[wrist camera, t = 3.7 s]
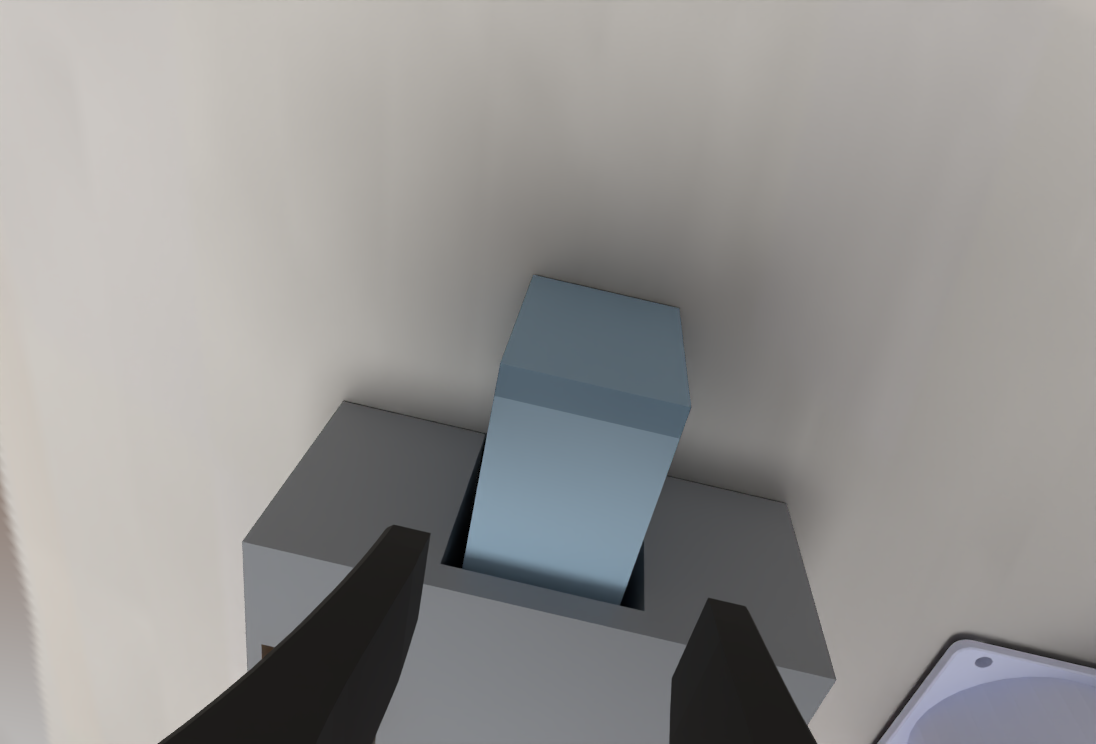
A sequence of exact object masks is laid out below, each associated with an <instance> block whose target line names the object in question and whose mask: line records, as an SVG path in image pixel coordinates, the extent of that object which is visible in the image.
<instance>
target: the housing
mask: <svg viewBox="0 0 1096 744" xmlns="http://www.w3.org/2000/svg"><path fill="white" fill-rule="evenodd" d="M484 439H485V434H483V433H478V432H474V431H470V430H465V429H461V428H457V427H452V426H448V425H444V424H439V423H435V422H431V421H426V420H422V419H418V418H413V417H409V416H405V415H400V414H396V413H392V412H388V411H383V410H379V409H375V408H370V407H366V406H362V405H357V404H353V403H349V402H344V401H343V402H342V404H341V405H340V406H339V408H338V409H337V411H336V412H335V413H334V415H333V416H332V418H331V419H330V420H329V422H328V423H327V424H326V426H325V427H324V429H323V430H322V431H321V433H320V434H319V436H318V437H317V438H316V440H315V441H314V443H313V444H312V445H311V447H310V448H309V449H308V451H307V452H306V454H305V455H304V456H303V458H302V459H301V461H300V462H299V463H298V465H297V466H296V468H295V469H294V470H293V472H292V473H291V475H290V476H289V477H288V479H287V480H286V481H285V483H284V484H283V486H282V487H281V488H280V490H279V491H278V493H277V494H276V495H275V497H274V498H273V500H272V501H271V502H270V504H269V505H268V507H267V508H266V509H265V511H264V512H263V513H262V515H261V516H260V518H259V519H258V520H257V522H256V523H255V525H254V526H253V527H252V529H251V530H250V532H249V533H248V534H247V536H246V537H245V539H244V540H243V541H242V548H243V573H244V598H245V622H246V647H247V672H248V671H249V670H250V669H251V668H253V667H254V666H255V665H256V664H257V663H258V662H259V661H260V660H261V659H262V658H264V657H265V656H266V655H267V654H268V653H269V652H270V651H271V650H272V649H273V648H274V647H276V646H277V645H278V644H279V643H280V642H281V641H282V640H283V639H284V638H285V637H286V636H288V635H289V634H290V633H291V632H292V631H293V630H294V629H295V628H296V627H297V626H298V625H299V624H300V623H301V622H302V621H303V620H304V619H305V618H306V617H307V616H308V615H309V614H310V613H311V612H312V611H313V610H314V609H315V608H316V607H317V606H318V605H319V604H320V603H321V602H322V601H323V600H324V599H325V598H326V597H327V596H328V595H329V594H330V593H331V592H332V591H333V590H334V589H335V588H336V587H337V586H338V584H339V583H340V582H341V581H342V580H343V579H344V578H345V577H346V576H347V575H348V573H349V572H350V571H351V570H352V569H353V568H354V567H355V566H356V565H357V563H358V562H359V561H360V560H361V559H362V558H363V557H364V555H365V554H366V553H367V552H368V551H369V549H370V548H371V547H372V546H373V544H374V543H375V542H376V541H377V540H378V538H379V537H380V536H381V534H382V533H383V532H384V530H385V529H386V528H387V527H390V526H392V525H398V526H402V527H407V528H411V529H415V530H420V531H424V532H428V533H431V535H430V542H429V548H428V555H427V562H426V569H425V576H424V582H423V589H422V596H421V603H420V610H419V616H418V621H417V624H416V628H415V631H414V634H413V637H412V641H411V644H410V647H409V650H408V653H407V657H406V660H405V663H404V666H403V669H402V672H401V675H400V678H399V682H398V684H397V686H396V689H395V691H394V693H393V696H392V698H391V701H390V703H389V705H388V708H387V710H386V712H385V715H384V717H383V719H382V722H381V724H380V726H379V729H378V731H377V734H376V736H375V738H374V741H373V743H372V744H669V733H670V703H671V680H672V676H673V674H674V672H675V670H676V668H677V665H678V663H679V661H680V659H681V656H682V654H683V652H684V650H685V648H686V645H687V643H688V641H689V639H690V637H691V634H692V632H693V630H694V628H695V625H696V623H697V621H698V619H699V617H700V614H701V612H702V610H703V608H704V606H705V603H706V601H707V599H708V598H712V599H717V600H721V601H725V602H730V603H734V604H738V605H743V606H746V607H747V609H748V611H749V612H750V614H751V616H752V618H753V620H754V622H755V624H756V626H757V628H758V631H759V633H760V635H761V637H762V639H763V641H764V643H765V645H766V647H767V649H768V651H769V653H770V655H771V657H772V659H773V661H774V663H775V665H776V667H777V669H778V671H779V673H780V675H781V677H782V679H783V681H784V683H785V685H786V687H787V689H788V691H789V692H790V694H791V696H792V698H793V700H794V702H795V704H796V706H797V708H798V710H799V711H800V713H801V715H802V717H803V719H804V721H805V722H806V724H807V725H808V723H809V722H810V720H811V719H812V717H813V715H814V714H815V712H816V711H817V709H818V708H819V706H820V705H821V703H822V701H823V700H824V698H825V697H826V695H827V694H828V692H829V691H830V689H831V687H832V686H833V684H834V683H835V681H836V677H835V673H834V670H833V666H832V663H831V659H830V656H829V652H828V649H827V645H826V642H825V638H824V634H823V631H822V627H821V624H820V620H819V617H818V613H817V610H816V606H815V603H814V599H813V596H812V592H811V588H810V585H809V581H808V578H807V574H806V571H805V567H804V564H803V560H802V557H801V553H800V549H799V546H798V542H797V539H796V535H795V532H794V528H793V525H792V521H791V518H790V514H789V511H788V507H787V504H785V503H781V502H777V501H772V500H768V499H764V498H759V497H755V496H751V495H746V494H742V493H738V492H733V491H729V490H725V489H720V488H716V487H712V486H707V485H703V484H699V483H694V482H690V481H686V480H681V479H677V478H673V477H669V476H666V479H665V481H664V484H663V487H662V490H661V492H660V495H659V498H658V501H657V504H656V506H655V509H654V512H653V515H652V517H651V520H650V523H649V526H648V528H647V531H646V534H645V537H644V540H643V542H642V545H641V548H640V551H639V553H638V556H637V559H636V562H635V564H634V567H633V570H632V573H631V576H630V578H629V581H628V584H627V587H626V589H625V592H624V595H623V598H622V601H621V603H620V606H619V605H615V604H611V603H606V602H602V601H598V600H594V599H589V598H585V597H581V596H576V595H572V594H568V593H563V592H559V591H555V590H551V589H546V588H542V587H538V586H533V585H529V584H525V583H520V582H516V581H512V580H508V579H503V578H499V577H495V576H490V575H486V574H482V573H477V572H473V571H469V570H465V569H461V564H462V559H463V553H464V548H465V542H466V537H467V532H468V526H469V521H470V515H471V510H472V504H473V499H474V493H475V488H476V482H477V477H478V472H479V466H480V461H481V455H482V450H483V444H484Z"/></svg>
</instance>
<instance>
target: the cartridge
mask: <svg viewBox="0 0 1096 744" xmlns="http://www.w3.org/2000/svg"><path fill="white" fill-rule="evenodd" d="M690 409H691V402H690V393H689V385H688V377H687V368H686V360H685V352H684V343H683V335H682V327H681V318H680V310H679V308H676V307H671V306H667V305H663V304H658V303H654V302H650V301H645V300H641V299H637V298H632V297H628V296H624V295H619V294H615V293H611V292H606V291H602V290H597V289H593V288H589V287H584V286H580V285H576V284H571V283H567V282H563V281H558V280H554V279H550V278H545V277H541V276H537V275H533V277H532V280H531V282H530V285H529V288H528V290H527V293H526V296H525V299H524V301H523V304H522V307H521V309H520V312H519V315H518V317H517V320H516V323H515V325H514V328H513V331H512V333H511V336H510V339H509V341H508V344H507V347H506V349H505V352H504V355H503V357H502V360H501V363H500V368H499V373H498V378H497V384H496V389H495V395H494V400H493V405H492V411H491V416H490V422H489V427H488V432H487V438H486V443H485V449H484V454H483V460H482V465H481V470H480V476H479V481H478V487H477V492H476V497H475V503H474V508H473V514H472V519H471V524H470V530H469V535H468V541H467V546H466V551H465V557H464V562H463V568H462V569H465V570H469V571H473V572H477V573H482V574H486V575H490V576H495V577H499V578H503V579H508V580H512V581H516V582H520V583H525V584H529V585H533V586H538V587H542V588H546V589H551V590H555V591H559V592H563V593H568V594H572V595H576V596H581V597H585V598H589V599H594V600H598V601H602V602H606V603H611V604H615V605H619V606H620V603H621V601H622V598H623V595H624V592H625V589H626V587H627V584H628V581H629V578H630V576H631V573H632V570H633V567H634V564H635V562H636V559H637V556H638V553H639V551H640V548H641V545H642V542H643V540H644V537H645V534H646V531H647V528H648V526H649V523H650V520H651V517H652V515H653V512H654V509H655V506H656V504H657V501H658V498H659V495H660V492H661V490H662V487H663V484H664V481H665V479H666V476H667V473H668V470H669V467H670V465H671V462H672V459H673V456H674V454H675V451H676V448H677V445H678V443H679V440H680V437H681V434H682V431H683V429H684V426H685V423H686V420H687V418H688V415H689V412H690Z"/></svg>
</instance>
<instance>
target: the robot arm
mask: <svg viewBox="0 0 1096 744" xmlns="http://www.w3.org/2000/svg"><path fill="white" fill-rule="evenodd" d="M430 535H431V533H428V532H424V531H420V530H415V529H411V528H407V527H402V526H398V525H392V526H390V527H387V528H386V529H385V530H384V532H383V533H382V534H381V536H380V537H379V538H378V540H377V541H376V542H375V543H374V544H373V546H372V547H371V548H370V549H369V551H368V552H367V553H366V554H365V555H364V557H363V558H362V559H361V560H360V561H359V562H358V563H357V565H356V566H355V567H354V568H353V569H352V570H351V571H350V572H349V573H348V575H347V576H346V577H345V578H344V579H343V580H342V581H341V582H340V583H339V584H338V586H337V587H336V588H335V589H334V590H333V591H332V592H331V593H330V594H329V595H328V596H327V597H326V598H325V599H324V600H323V601H322V602H321V603H320V604H319V605H318V606H317V607H316V608H315V609H314V610H313V611H312V612H311V613H310V614H309V615H308V616H307V617H306V618H305V619H304V620H303V621H302V622H301V623H300V624H299V625H298V626H297V627H296V628H295V629H294V630H293V631H292V632H291V633H290V634H289V635H288V636H286V637H285V638H284V639H283V640H282V641H281V642H280V643H279V644H278V645H277V646H276V647H274V648H273V649H272V650H271V651H270V652H269V653H268V654H267V655H266V656H265V657H264V658H262V659H261V660H260V661H259V662H258V663H257V664H256V665H255V666H254V667H253V668H251V669H250V670H249V671H248V672H247V673H246V674H245V675H243V676H242V677H241V678H240V679H239V680H238V681H236V682H235V683H234V684H233V685H232V686H231V687H229V688H228V689H227V690H226V691H225V692H223V693H222V694H221V695H220V696H219V697H217V698H216V699H215V700H214V701H212V702H211V703H210V704H209V705H207V706H206V707H205V708H204V709H202V710H201V711H200V712H199V713H197V714H196V715H195V716H194V717H192V718H191V719H190V720H189V721H187V722H186V723H185V724H183V725H182V726H181V727H179V728H178V729H177V730H175V731H174V732H173V733H171V734H170V735H169V736H167V737H166V738H165V739H163V740H162V741H161V742H159V743H158V744H372V743H373V741H374V738H375V736H376V734H377V731H378V729H379V726H380V724H381V722H382V719H383V717H384V715H385V712H386V710H387V708H388V705H389V703H390V701H391V698H392V696H393V693H394V691H395V689H396V686H397V684H398V682H399V678H400V675H401V672H402V669H403V666H404V663H405V660H406V657H407V653H408V650H409V647H410V644H411V641H412V637H413V634H414V631H415V628H416V624H417V621H418V616H419V610H420V603H421V596H422V589H423V582H424V576H425V569H426V562H427V555H428V548H429V542H430ZM669 744H817V742H816V741H815V739H814V737H813V735H812V733H811V731H810V730H809V728H808V726H807V724H806V722H805V721H804V719H803V717H802V715H801V713H800V711H799V710H798V708H797V706H796V704H795V702H794V700H793V698H792V696H791V694H790V692H789V691H788V689H787V687H786V685H785V683H784V681H783V679H782V677H781V675H780V673H779V671H778V669H777V667H776V665H775V663H774V661H773V659H772V657H771V655H770V653H769V651H768V649H767V647H766V645H765V643H764V641H763V639H762V637H761V635H760V633H759V631H758V628H757V626H756V624H755V622H754V620H753V618H752V616H751V614H750V612H749V611H748V609H747V607H746V606H743V605H738V604H734V603H730V602H725V601H721V600H717V599H712V598H708V599H707V601H706V603H705V606H704V608H703V610H702V612H701V614H700V617H699V619H698V621H697V623H696V625H695V628H694V630H693V632H692V634H691V637H690V639H689V641H688V643H687V645H686V648H685V650H684V652H683V654H682V656H681V659H680V661H679V663H678V665H677V668H676V670H675V672H674V674H673V676H672V680H671V703H670V733H669ZM877 744H1096V669H1094V668H1090V667H1085V666H1081V665H1077V664H1073V663H1068V662H1064V661H1060V660H1055V659H1051V658H1047V657H1042V656H1038V655H1034V654H1029V653H1025V652H1021V651H1017V650H1012V649H1008V648H1004V647H999V646H995V645H991V644H986V643H982V642H978V641H973V640H966V639H964V640H959V641H956V642H954V643H953V644H952V645H951V646H950V647H949V648H948V650H947V651H946V652H945V654H944V655H943V656H942V658H941V659H940V660H939V662H938V663H937V664H936V666H935V667H934V668H933V670H932V671H931V672H930V674H929V675H928V676H927V678H926V679H925V680H924V682H923V683H922V684H921V686H920V687H919V688H918V690H917V691H916V692H915V694H914V695H913V696H912V698H911V699H910V700H909V702H908V703H907V704H906V706H905V707H904V708H903V710H902V711H901V712H900V714H899V715H898V716H897V718H896V719H895V720H894V722H893V723H892V724H891V726H890V727H889V729H888V730H887V731H886V733H885V734H884V735H883V737H882V738H881V739H880V741H879V742H878V743H877Z"/></svg>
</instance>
